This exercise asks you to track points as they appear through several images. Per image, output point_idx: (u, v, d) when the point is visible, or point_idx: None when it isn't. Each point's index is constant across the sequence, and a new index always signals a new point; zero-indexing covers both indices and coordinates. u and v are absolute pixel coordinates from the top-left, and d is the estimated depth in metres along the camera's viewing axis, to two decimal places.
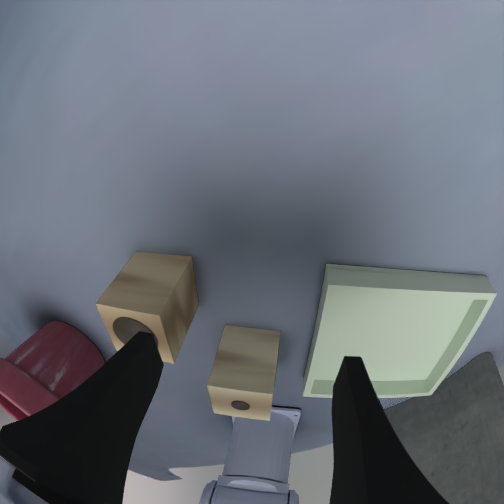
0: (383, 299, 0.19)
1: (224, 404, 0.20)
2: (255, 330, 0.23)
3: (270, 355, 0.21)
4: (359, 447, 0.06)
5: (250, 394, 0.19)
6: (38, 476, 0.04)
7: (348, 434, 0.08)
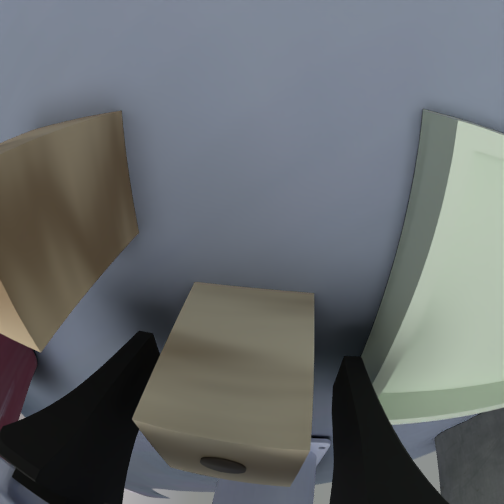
0: None
1: (185, 458, 0.08)
2: (259, 292, 0.11)
3: (296, 346, 0.09)
4: (359, 447, 0.06)
5: (248, 450, 0.06)
6: (38, 476, 0.04)
7: (347, 434, 0.08)
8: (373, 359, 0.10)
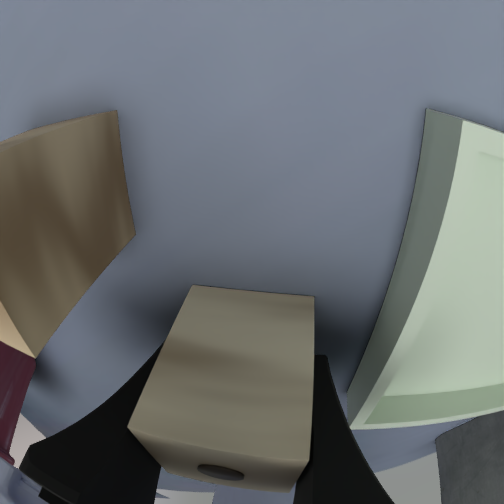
0: None
1: (182, 465, 0.07)
2: (258, 296, 0.11)
3: (295, 353, 0.08)
4: (312, 447, 0.06)
5: (246, 459, 0.06)
6: (79, 500, 0.04)
7: None
8: (374, 363, 0.10)
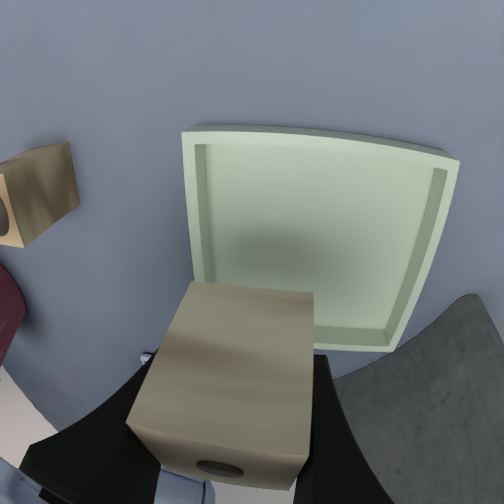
0: (280, 171, 0.15)
1: (181, 462, 0.07)
2: (257, 292, 0.11)
3: (294, 348, 0.08)
4: (312, 447, 0.06)
5: (245, 455, 0.06)
6: (78, 500, 0.04)
7: None
8: None
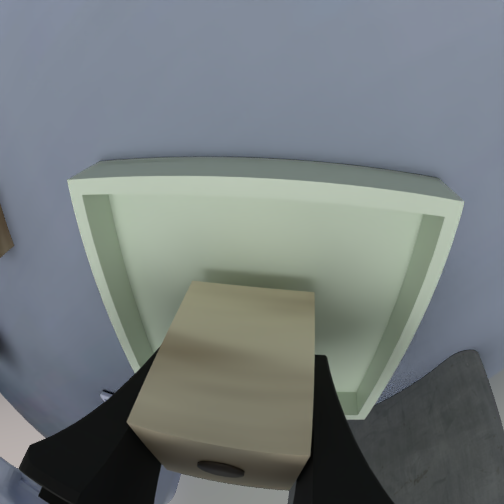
0: (198, 219, 0.11)
1: (181, 462, 0.07)
2: (258, 291, 0.11)
3: (296, 348, 0.08)
4: (312, 447, 0.06)
5: (246, 455, 0.06)
6: (78, 500, 0.04)
7: None
8: None
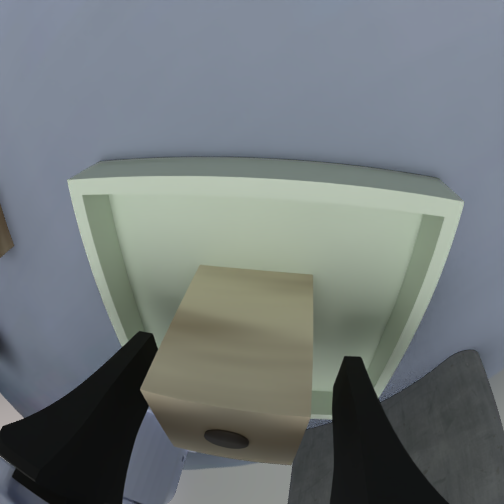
0: (198, 220, 0.11)
1: (189, 434, 0.08)
2: (261, 274, 0.12)
3: (295, 322, 0.09)
4: (359, 447, 0.06)
5: (251, 418, 0.07)
6: (38, 476, 0.04)
7: (347, 434, 0.08)
8: None
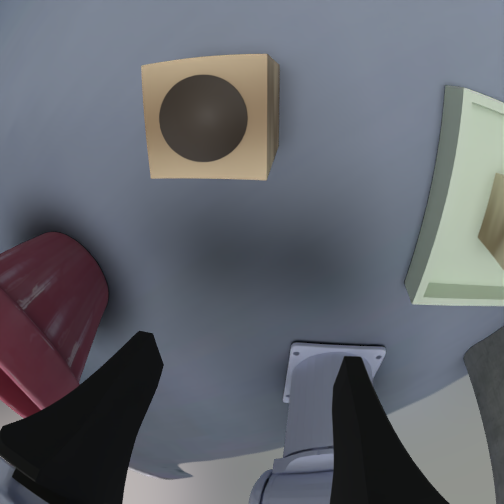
0: (503, 142, 0.12)
1: None
2: None
3: None
4: (359, 447, 0.06)
5: None
6: (38, 476, 0.04)
7: (347, 434, 0.08)
8: (428, 237, 0.15)
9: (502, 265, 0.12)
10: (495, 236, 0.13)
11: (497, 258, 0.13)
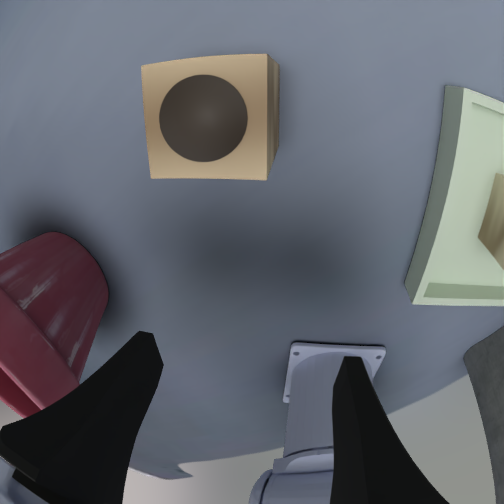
0: (503, 142, 0.12)
1: None
2: None
3: None
4: (359, 447, 0.06)
5: None
6: (38, 476, 0.04)
7: (347, 434, 0.08)
8: (428, 237, 0.15)
9: (502, 265, 0.12)
10: (495, 236, 0.13)
11: (497, 258, 0.13)
